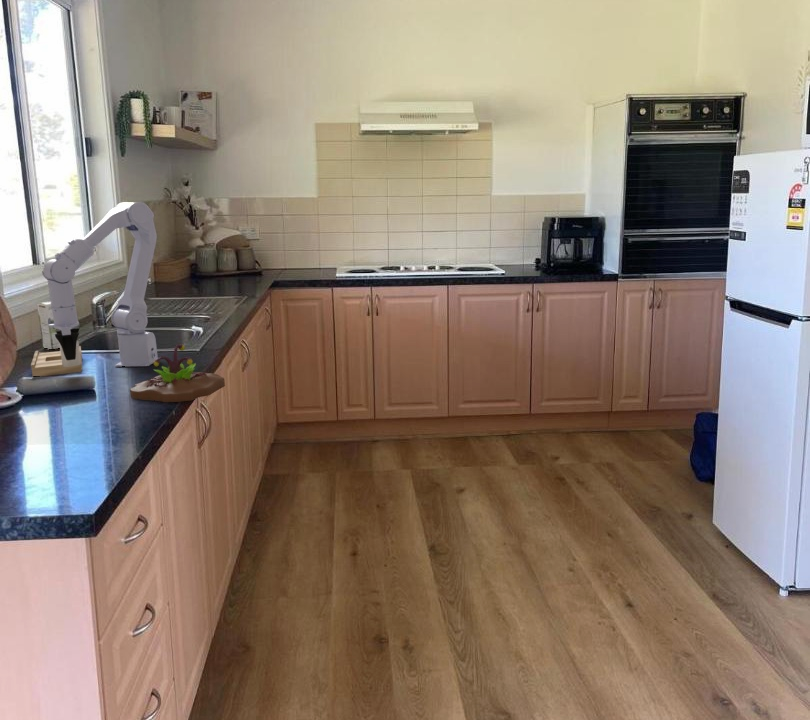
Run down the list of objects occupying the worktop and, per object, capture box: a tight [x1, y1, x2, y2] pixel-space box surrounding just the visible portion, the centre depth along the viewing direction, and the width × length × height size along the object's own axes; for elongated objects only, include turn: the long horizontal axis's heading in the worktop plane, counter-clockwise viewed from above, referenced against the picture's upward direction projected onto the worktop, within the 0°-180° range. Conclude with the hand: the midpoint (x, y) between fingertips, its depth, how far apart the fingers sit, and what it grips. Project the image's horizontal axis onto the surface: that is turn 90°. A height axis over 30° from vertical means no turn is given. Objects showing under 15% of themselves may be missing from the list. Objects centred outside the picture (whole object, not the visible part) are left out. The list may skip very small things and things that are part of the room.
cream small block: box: [59, 340, 83, 367], centre depth 200 cm, size 5×5×6 cm
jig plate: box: [30, 345, 83, 377], centre depth 213 cm, size 20×12×3 cm, turn 22°
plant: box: [129, 343, 226, 403], centre depth 182 cm, size 20×20×11 cm
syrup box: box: [36, 300, 60, 350], centre depth 238 cm, size 6×6×14 cm
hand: (71, 357), depth 200 cm, fingers closed on cream small block, 5 cm apart
